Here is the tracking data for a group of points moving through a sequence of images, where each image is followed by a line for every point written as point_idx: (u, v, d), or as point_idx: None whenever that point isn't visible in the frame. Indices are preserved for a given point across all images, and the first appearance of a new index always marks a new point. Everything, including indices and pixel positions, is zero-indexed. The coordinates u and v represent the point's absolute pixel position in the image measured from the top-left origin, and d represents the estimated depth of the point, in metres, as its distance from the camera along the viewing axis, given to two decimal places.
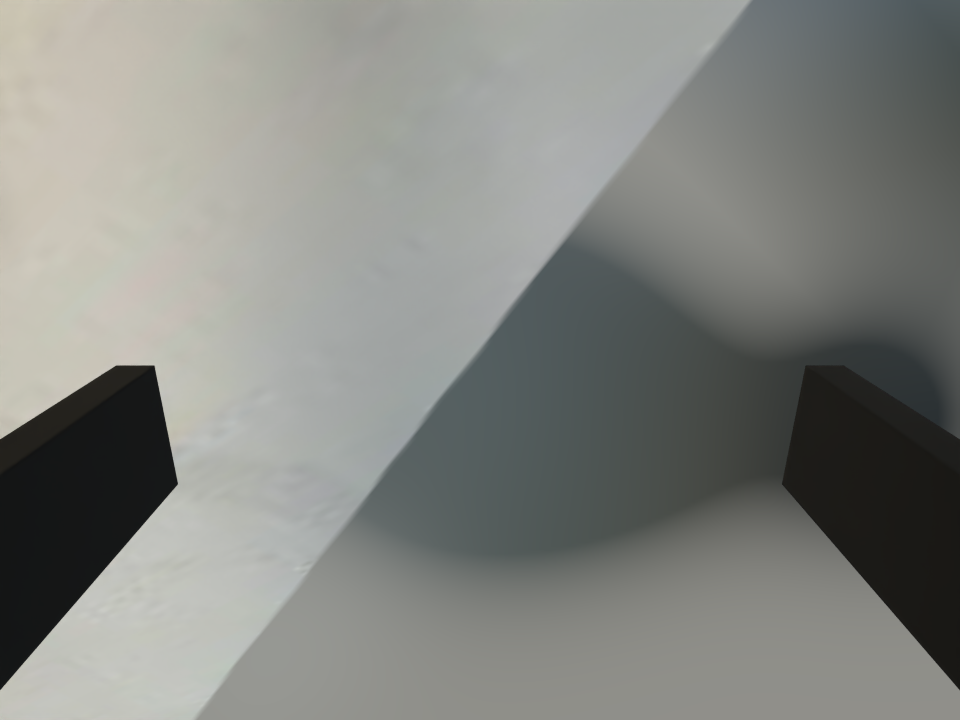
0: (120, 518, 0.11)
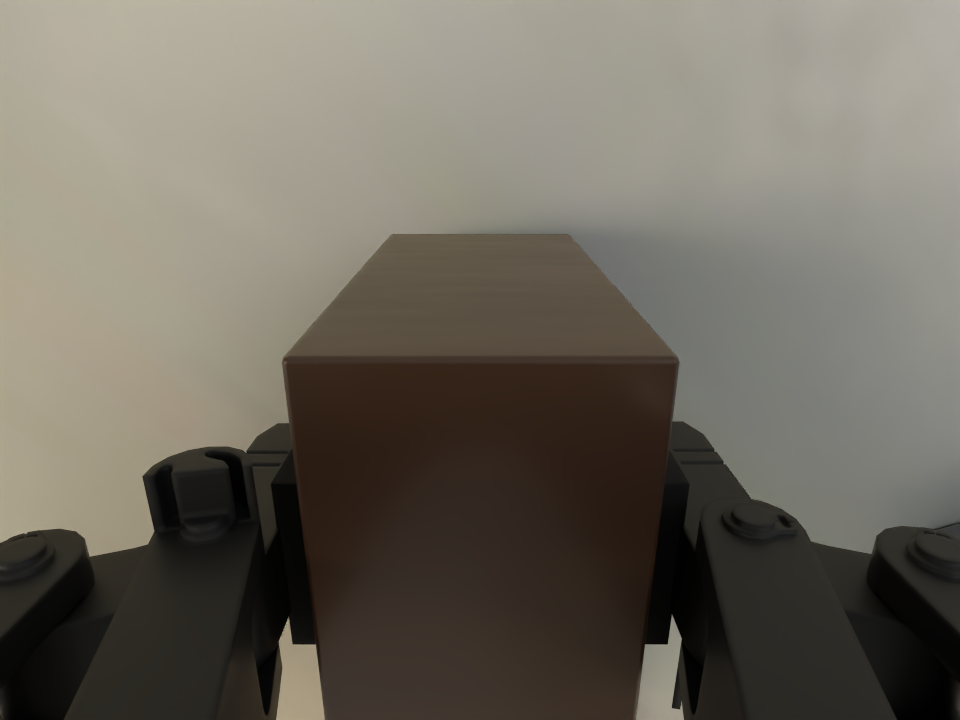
0: None
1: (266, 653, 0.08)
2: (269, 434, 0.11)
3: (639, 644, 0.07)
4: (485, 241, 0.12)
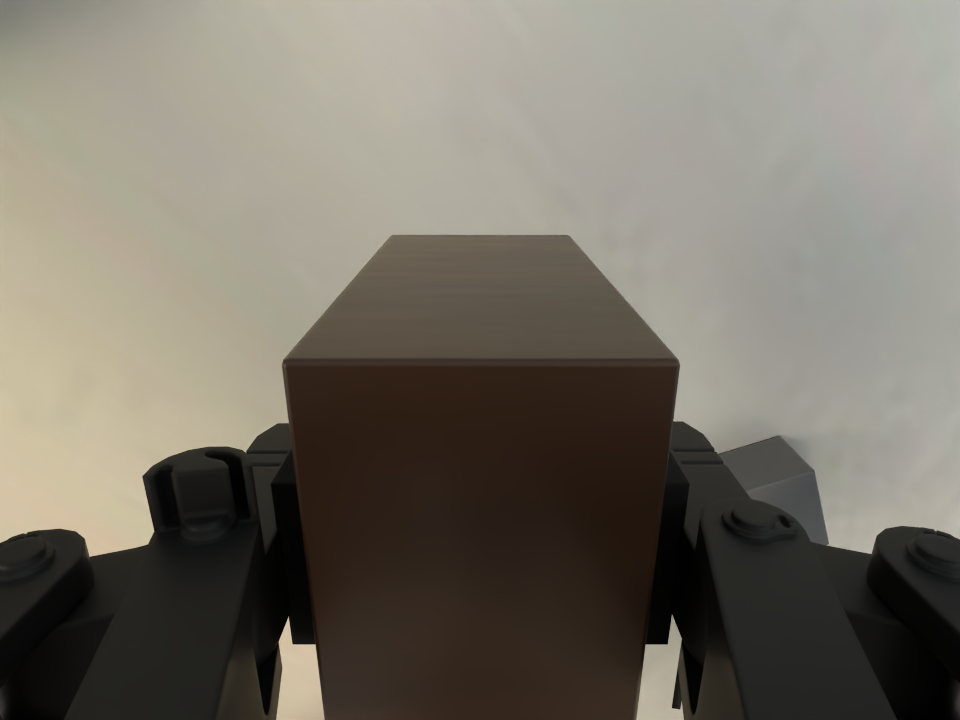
0: None
1: (265, 654, 0.08)
2: (269, 433, 0.11)
3: (639, 646, 0.07)
4: (485, 242, 0.12)
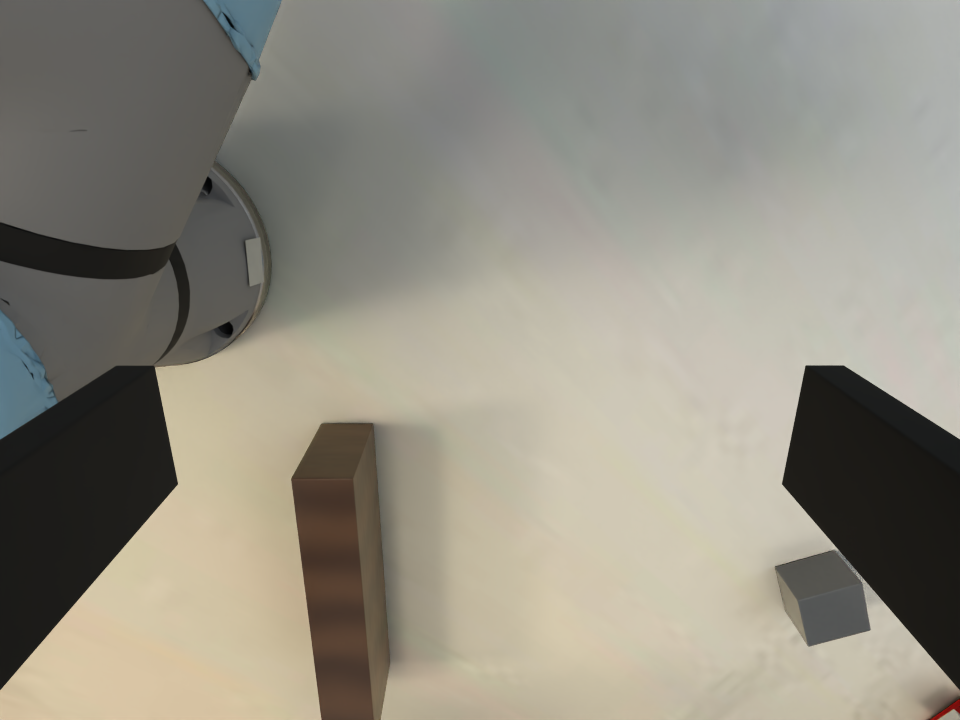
0: (120, 518, 0.11)
1: None
2: None
3: (355, 526, 0.40)
4: (345, 429, 0.46)
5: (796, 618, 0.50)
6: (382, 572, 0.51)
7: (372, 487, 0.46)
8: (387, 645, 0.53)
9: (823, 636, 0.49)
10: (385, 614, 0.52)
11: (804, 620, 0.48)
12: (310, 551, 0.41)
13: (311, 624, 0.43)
